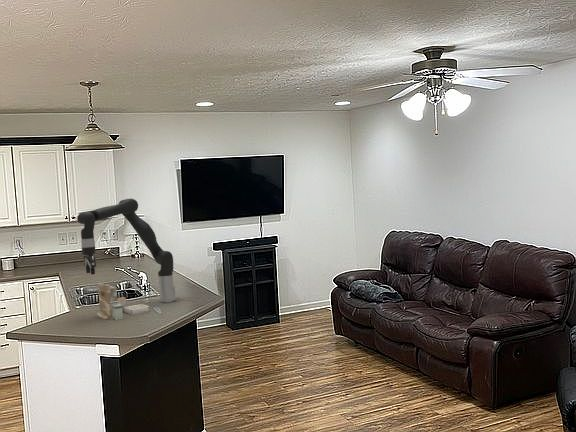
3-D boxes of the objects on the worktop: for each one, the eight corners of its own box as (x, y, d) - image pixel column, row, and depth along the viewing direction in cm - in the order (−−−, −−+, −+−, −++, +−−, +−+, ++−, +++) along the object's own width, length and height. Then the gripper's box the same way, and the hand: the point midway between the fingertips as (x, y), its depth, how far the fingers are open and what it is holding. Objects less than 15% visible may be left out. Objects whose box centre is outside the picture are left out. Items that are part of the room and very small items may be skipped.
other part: (120, 317, 358) (119, 304, 357) (123, 318, 354) (121, 305, 354) (113, 318, 355) (112, 305, 355) (116, 320, 352) (115, 306, 351)
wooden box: (111, 312, 373) (109, 281, 372) (121, 316, 360) (118, 284, 359) (96, 315, 367) (94, 283, 366) (105, 319, 354) (103, 286, 353)
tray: (142, 308, 379) (141, 304, 379) (149, 311, 369) (149, 306, 369) (124, 312, 372) (123, 307, 372) (131, 314, 363) (131, 310, 362)
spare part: (124, 309, 380) (123, 297, 379) (126, 310, 376) (125, 297, 376) (118, 310, 377) (117, 298, 377) (120, 311, 374) (119, 298, 373)
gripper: (98, 246, 352) (101, 273, 353) (90, 244, 364) (93, 271, 365) (85, 247, 348) (88, 275, 349) (78, 246, 359) (80, 273, 360)
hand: (90, 273), depth 357 cm, fingers open, 8 cm apart
